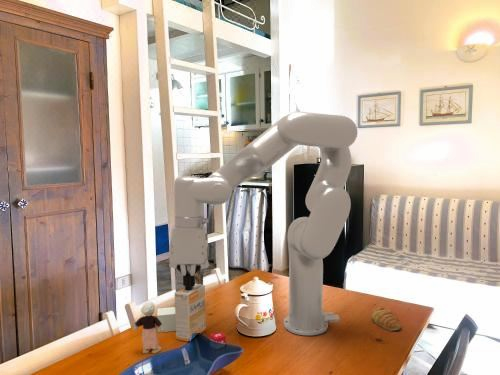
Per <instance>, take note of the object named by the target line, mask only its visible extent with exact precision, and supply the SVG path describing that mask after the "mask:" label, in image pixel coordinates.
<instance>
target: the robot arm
mask: <svg viewBox="0 0 500 375" xmlns="http://www.w3.org/2000/svg"><path fill="white" fill-rule="evenodd" d="M357 137H358V127H357V125H356V123H355V121H354V120H352V119H351V118H350V117H348V116H346V115H345V116H344V115H339V114H328V113H326V114H325V113H319V112H306V111H295V112H291V113H289V114H287V115H284V116H283V117H281V118H280V119H279V120H277V121H276V122H275V123H273V124H272V125H271V126H269V128H267V129H266V130H265V131H264V132H262V133H261V134H260V135H259V136H258V137H256V138H255V139H253V140H252V141H250V143H249V144H246V146H245V147H243V148H242V149H241V150H239V152H238V153H236V154H235V155H234V156H233V157H231V159H229V160H228V161H227V162H225V163H224V164H223V165H221V166H220V167H219V168H218V169H216V170H215V171H214V172H213V173H212V174H210V175H209V176H208V177H199V176H189V175H187V176H183V175H182V176H178V177H176V178H175V179H174V183H173V184H174V187H173V188H174V190H173V191H174V193H173V194H174V195H173V196H174V199H173V200H174V226H172V229H171V232H170V233H171V234H170V238H169V240H170V242H169V250H168V251H169V253H168V254H169V255H168V258H169V264H168V266H169V268H172V269H174V270H175V269H178V270H179V271H180V272H181V274H182V275H183V286H185V290H191V289H192V288H193V286H195V274H196V273H197V272H198V271H199V270H200V269H203V270H205V269H207V268H208V267H210V263H209V260H208V259H209V237H208V231H207V226H205V225H204V224H209V217H208V218H207V217H204V204H208V205H209V204H210V205H219V206H220V205H223V204H226V203H227V202H228V201H230V199H231V197H232V194H233V190H235V189H236V188H237V187H239V186H240V185H241V184H242V183H244V182H245V181H247V180H248V179H249V178H252V177H254V176H256V175H259V174H261V173H263V172H265V171H267V170H268V169H270V168H271V167H272V166H273V165H275V164H276V163H277V162H278V161H280V159H281V158H283V157H284V156H286V155H287V154H288V153H289V152H290V151H292V150H293V149H295V148H296V147H297V146H307V147H314V148H315V147H317V148H318V149H319V151H320V157H321V159H320V164H319V166H318V168H317V171H316V174H315V176H314V178H313V181H312V183H311V185H310V187H309V189H308V191H307V193H306V196H305V206H306V208H307V210H308V211H309V212H310V214H309V215H308V216H302V217H298V218H296V219H294V220H292V222H291V223H290V225H289V226H288V230H287V248H288V260H289V262H288V266H289V267H288V269H289V271H288V285H289V286H288V289H289V290H288V315H287V316H286V317H284V319H283V327H284V328H285V330H287V331H289V332H290V333H292V334H295V335H299V336H317V335H320V334H324V332H326V331H327V330H328V325H329V324H328V323H329V322H331V323H340V315H339V314H334V312H331V311H330V312H328V311H327V312H325V311H324V309H323V296H324V295H323V289H324V287H323V286H324V285H323V284H324V283H323V282H324V280H323V279H324V263H323V262H324V261H323V259H325V258H326V257H328V256H330V254H331V253H332V251H333V250H334V249H335V248H334V247H335V246H336V244H337V242H338V241H339V238H340V235H341V233H342V231H343V229H344V227H345V224H346V222H347V220H348V217H349V215H350V213H351V212H350V211H351V207H352V206H351V205H352V204H351V201H352V200H351V198H350V195H349V193H348V191H347V190H346V189H345V186H346V183H347V180H348V178H349V176H350V172H351V168H352V155H351V150H350V147H351V146H352V145H353V144H354V143H355V141H356V139H357ZM187 265H191V272H190V273H189V271H188V267H187Z"/></svg>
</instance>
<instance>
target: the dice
mask: <svg viewBox="0 0 500 375" xmlns="http://www.w3.org/2000/svg"><path fill="white" fill-rule="evenodd" d="M226 337H227V336H226V334H224V333H222V332H221V331H216V332H214V333H211V334H209V340H210V339H212V340H214V341H217V342H221V343H226V342H227V340H226V339H227V338H226ZM226 344H227V343H226Z"/></svg>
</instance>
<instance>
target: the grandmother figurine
mask: <svg viewBox="0 0 500 375" xmlns="http://www.w3.org/2000/svg"><path fill="white" fill-rule="evenodd" d="M140 312H141V313H142V314H144V316H141V317H139V318H138V319H137V320H136V321H135V323H134V327H133V331H134V332H137V331H138V329H139V327H142V330H141V331H142V332H141V334H142V337H141V338H142V340H141V341H142V348H143V350H142V353H143V354H149V353H150V352H151V353H152V354H157V353H159V352H160V351H161V350H162V348H161V345H159V339H158V328H159V329H160V332H159V333H165V332H164V329H163V326H162V323H161V322H160V320H159V319H158V318H157V316H154V313H155V303H154V302H153V301H146V302H145V303H144V304H143V305H142V307H141V310H140Z"/></svg>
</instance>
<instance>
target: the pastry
mask: <svg viewBox="0 0 500 375" xmlns="http://www.w3.org/2000/svg"><path fill="white" fill-rule="evenodd" d="M371 318H372V321H373V322H374V323H375V324H376V325H377V326H379V327H381V328H383V329H385V330H388V331H390V332H391V331H392V332H393V331H398V330H400V329H401V328H402V325H401V320H400V318H399V317H398V316H397V314H396V313H395V312H394V311H393V310H390V309H388V308H387V307H383V306H379V307H378V308H375V309H374V310H373V311H372V313H371Z"/></svg>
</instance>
